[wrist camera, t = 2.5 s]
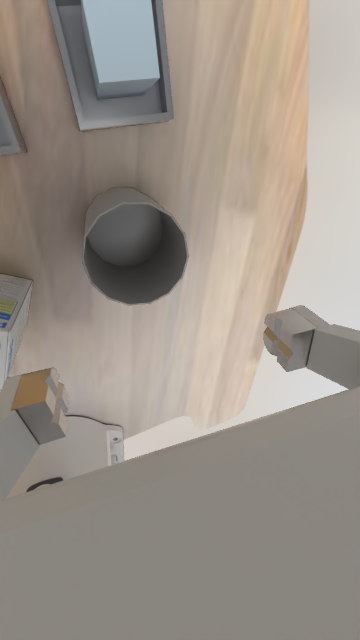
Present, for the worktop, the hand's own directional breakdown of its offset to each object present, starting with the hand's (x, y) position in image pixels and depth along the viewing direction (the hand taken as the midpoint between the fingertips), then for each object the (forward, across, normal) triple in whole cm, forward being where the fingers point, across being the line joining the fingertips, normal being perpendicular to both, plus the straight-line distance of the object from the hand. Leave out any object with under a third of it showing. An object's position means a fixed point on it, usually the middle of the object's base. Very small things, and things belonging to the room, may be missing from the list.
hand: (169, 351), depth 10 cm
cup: (+23, 0, -1) cm, 23 cm away
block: (+22, +2, +12) cm, 26 cm away
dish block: (+23, +2, +12) cm, 26 cm away
